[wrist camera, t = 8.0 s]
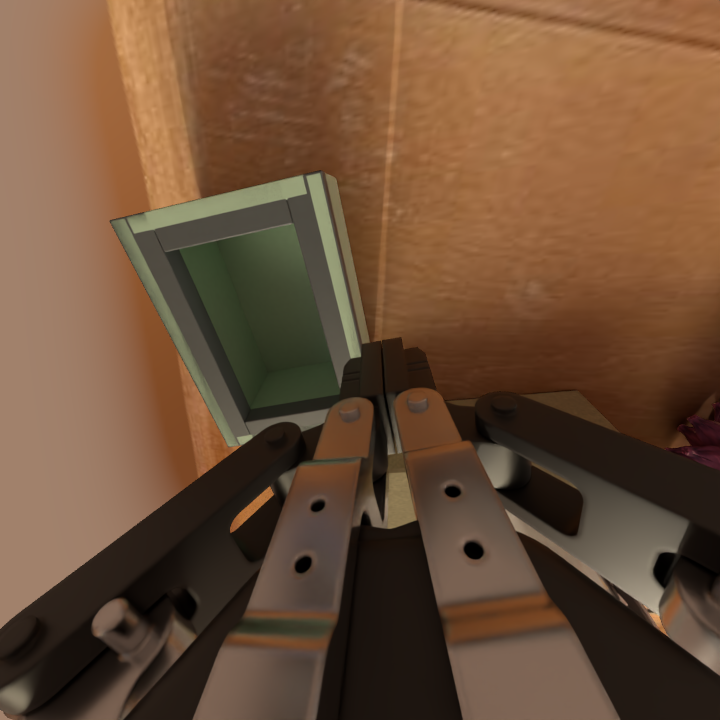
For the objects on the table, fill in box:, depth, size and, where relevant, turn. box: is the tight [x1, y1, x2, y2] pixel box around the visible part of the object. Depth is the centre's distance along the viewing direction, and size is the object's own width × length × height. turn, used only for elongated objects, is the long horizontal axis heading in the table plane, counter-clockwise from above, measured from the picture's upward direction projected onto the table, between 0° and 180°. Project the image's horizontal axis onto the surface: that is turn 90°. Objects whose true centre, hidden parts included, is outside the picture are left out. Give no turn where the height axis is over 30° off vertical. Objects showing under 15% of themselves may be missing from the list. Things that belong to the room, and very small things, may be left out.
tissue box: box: [387, 390, 620, 590], centre depth 25 cm, size 19×10×16 cm, turn 97°
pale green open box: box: [110, 170, 370, 447], centre depth 21 cm, size 14×9×10 cm
